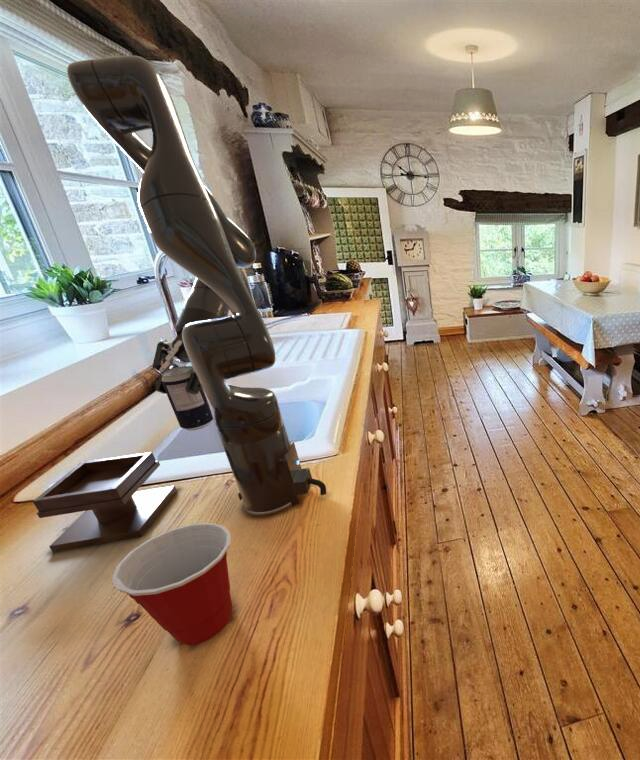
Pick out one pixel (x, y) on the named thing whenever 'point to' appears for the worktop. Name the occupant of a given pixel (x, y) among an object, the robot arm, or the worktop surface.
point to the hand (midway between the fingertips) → (176, 392)
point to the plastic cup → (181, 580)
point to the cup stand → (105, 500)
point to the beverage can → (186, 399)
